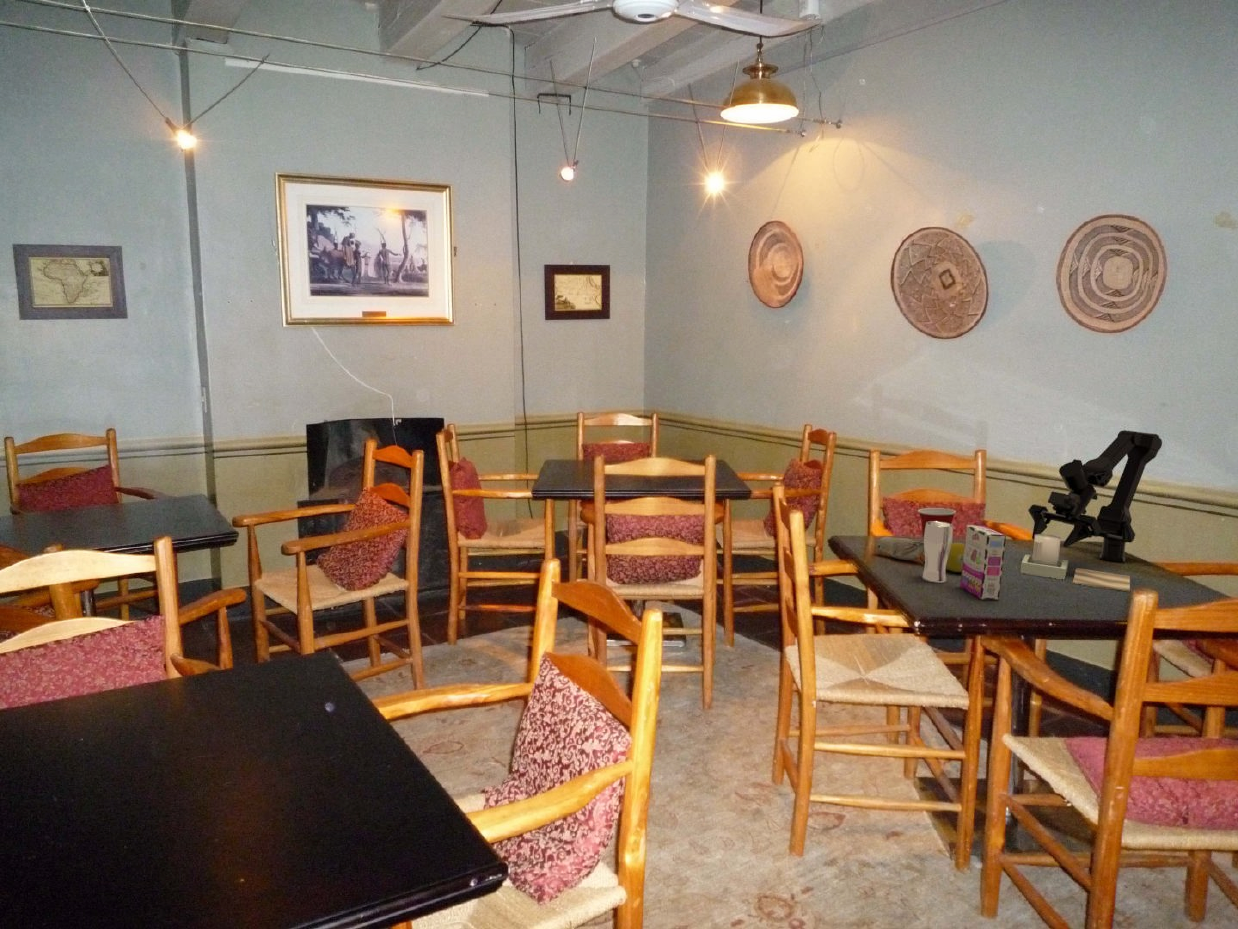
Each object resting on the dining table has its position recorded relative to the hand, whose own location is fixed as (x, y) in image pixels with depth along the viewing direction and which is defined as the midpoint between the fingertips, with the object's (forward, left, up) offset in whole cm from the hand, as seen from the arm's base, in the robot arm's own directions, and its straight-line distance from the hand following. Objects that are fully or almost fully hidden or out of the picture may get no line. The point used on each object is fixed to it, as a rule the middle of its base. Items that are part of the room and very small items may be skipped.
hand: (1048, 542), depth 237 cm
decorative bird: (+12, -36, -9) cm, 39 cm away
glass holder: (0, 0, -8) cm, 8 cm away
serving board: (0, +14, -8) cm, 16 cm away
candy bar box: (+33, -12, -8) cm, 37 cm away
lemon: (+15, -20, -8) cm, 27 cm away
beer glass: (+27, -24, -8) cm, 38 cm away
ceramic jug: (0, 0, -8) cm, 8 cm away
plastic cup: (-8, -31, -8) cm, 33 cm away
